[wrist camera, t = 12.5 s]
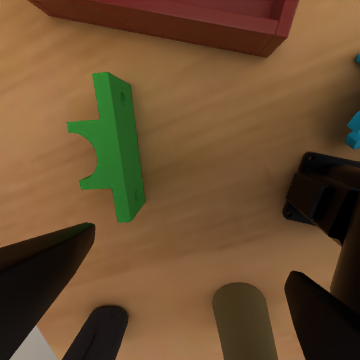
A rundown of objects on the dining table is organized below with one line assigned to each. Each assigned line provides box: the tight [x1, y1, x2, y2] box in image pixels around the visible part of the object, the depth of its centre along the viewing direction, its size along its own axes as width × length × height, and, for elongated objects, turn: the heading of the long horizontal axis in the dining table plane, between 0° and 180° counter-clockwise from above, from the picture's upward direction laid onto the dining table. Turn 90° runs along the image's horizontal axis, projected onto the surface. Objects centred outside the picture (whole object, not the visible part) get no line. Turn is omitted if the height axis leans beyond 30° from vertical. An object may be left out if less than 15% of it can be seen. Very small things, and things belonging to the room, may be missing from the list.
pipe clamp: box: [67, 72, 145, 222], centre depth 17 cm, size 11×4×5 cm, turn 4°
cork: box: [212, 283, 278, 360], centre depth 18 cm, size 6×6×11 cm
